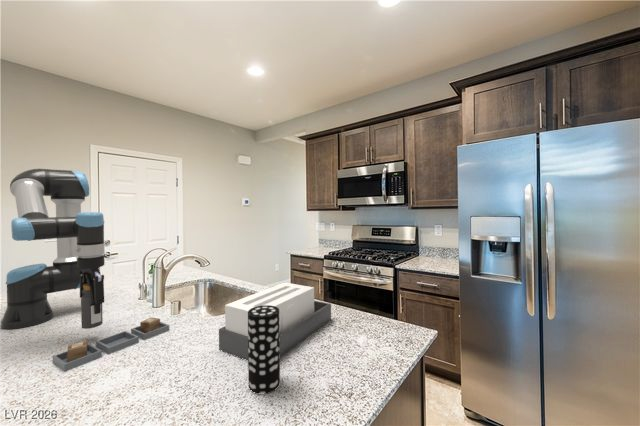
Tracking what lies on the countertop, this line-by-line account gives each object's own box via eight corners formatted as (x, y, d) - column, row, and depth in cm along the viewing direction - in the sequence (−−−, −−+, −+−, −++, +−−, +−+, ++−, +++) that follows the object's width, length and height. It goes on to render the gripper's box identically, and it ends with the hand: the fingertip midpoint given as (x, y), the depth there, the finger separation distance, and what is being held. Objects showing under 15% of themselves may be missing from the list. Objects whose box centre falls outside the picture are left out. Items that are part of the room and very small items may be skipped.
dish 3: (131, 335, 105) (130, 328, 105) (156, 326, 113) (155, 320, 113) (144, 341, 100) (144, 334, 100) (169, 331, 108) (169, 325, 108)
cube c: (68, 359, 88) (68, 344, 88) (87, 354, 91) (86, 340, 90) (67, 365, 84) (67, 350, 84) (87, 360, 87) (86, 345, 87)
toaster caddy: (219, 349, 94) (218, 329, 94) (290, 311, 128) (290, 295, 128) (266, 368, 83) (266, 344, 83) (331, 320, 118) (330, 303, 117)
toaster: (261, 364, 86) (260, 314, 85) (225, 350, 94) (225, 305, 93) (319, 322, 116) (319, 285, 115) (289, 315, 124) (288, 280, 123)
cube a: (140, 334, 105) (140, 321, 105) (150, 328, 109) (150, 317, 109) (150, 335, 103) (149, 323, 103) (160, 330, 108) (159, 318, 108)
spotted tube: (251, 375, 80) (250, 305, 79) (280, 374, 80) (280, 304, 80) (246, 395, 71) (245, 317, 71) (279, 393, 72) (278, 316, 71)
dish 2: (95, 348, 95) (95, 341, 95) (125, 337, 103) (125, 330, 103) (108, 355, 91) (108, 348, 90) (139, 343, 98) (138, 336, 98)
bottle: (90, 329, 97) (89, 287, 96) (77, 328, 98) (76, 285, 97) (106, 322, 102) (106, 282, 102) (93, 321, 104) (92, 281, 103)
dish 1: (52, 364, 86) (52, 356, 86) (89, 350, 94) (89, 343, 94) (64, 373, 81) (64, 364, 81) (102, 358, 89) (101, 350, 89)
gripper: (66, 254, 101) (68, 317, 102) (89, 261, 91) (91, 330, 92) (92, 251, 107) (93, 311, 108) (115, 257, 98) (116, 322, 99)
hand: (92, 320), depth 100 cm, fingers closed on bottle, 6 cm apart
